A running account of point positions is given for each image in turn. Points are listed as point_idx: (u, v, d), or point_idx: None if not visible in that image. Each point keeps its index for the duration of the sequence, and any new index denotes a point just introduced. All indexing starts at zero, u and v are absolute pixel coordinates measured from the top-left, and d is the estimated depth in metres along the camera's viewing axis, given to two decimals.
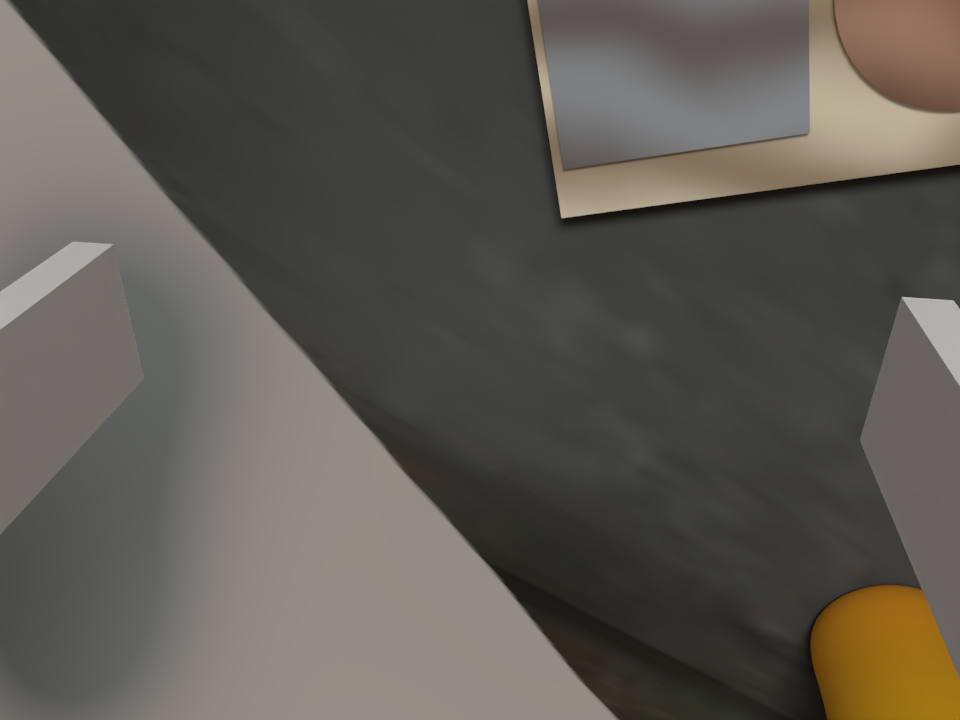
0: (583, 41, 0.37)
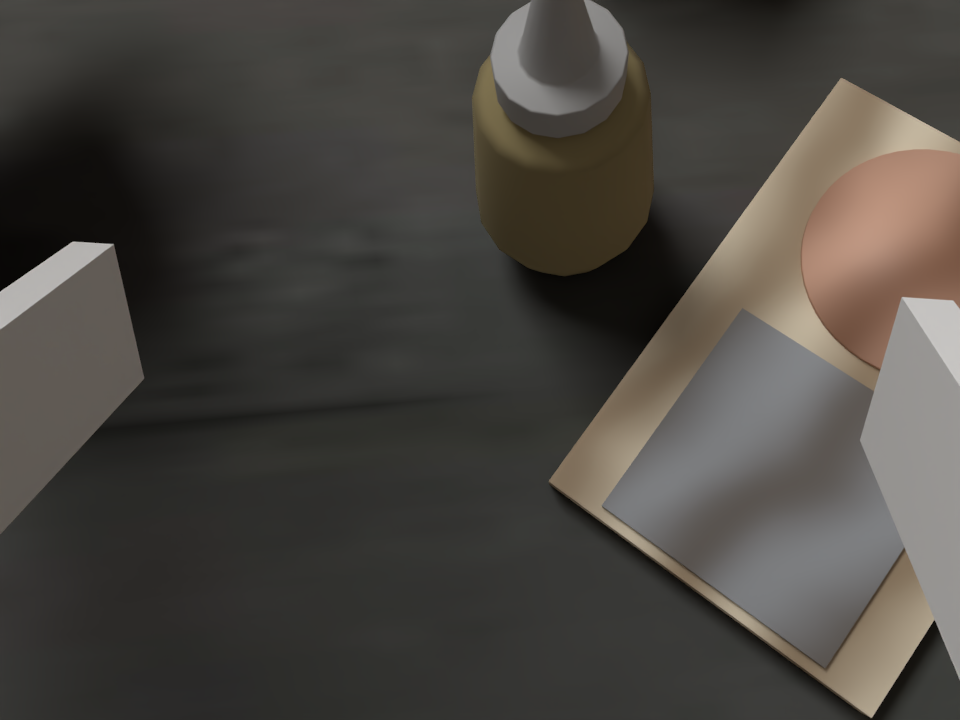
0: (731, 551, 0.36)
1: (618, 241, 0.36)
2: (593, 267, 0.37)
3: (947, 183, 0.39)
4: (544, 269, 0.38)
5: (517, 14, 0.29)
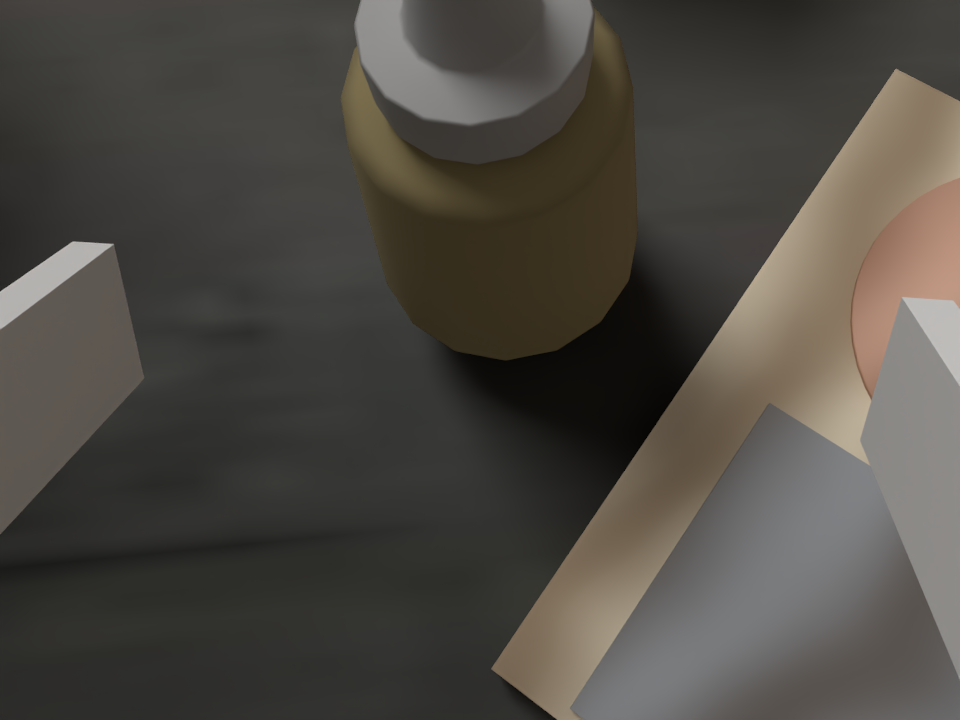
0: None
1: (587, 313, 0.24)
2: (551, 350, 0.25)
3: None
4: (479, 353, 0.25)
5: None
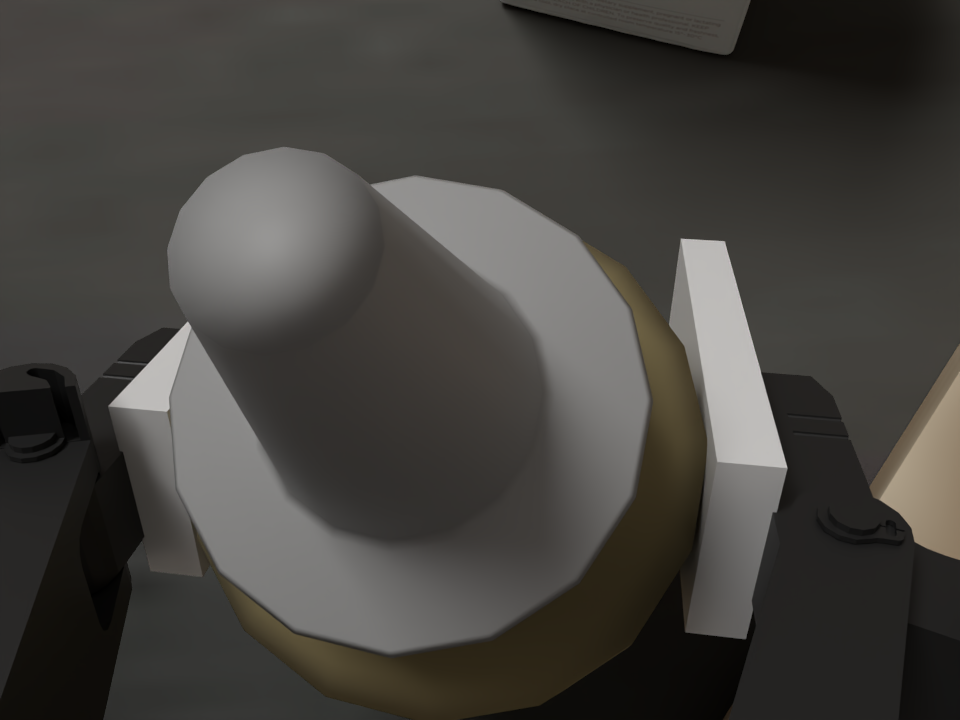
0: None
1: None
2: None
3: None
4: None
5: None
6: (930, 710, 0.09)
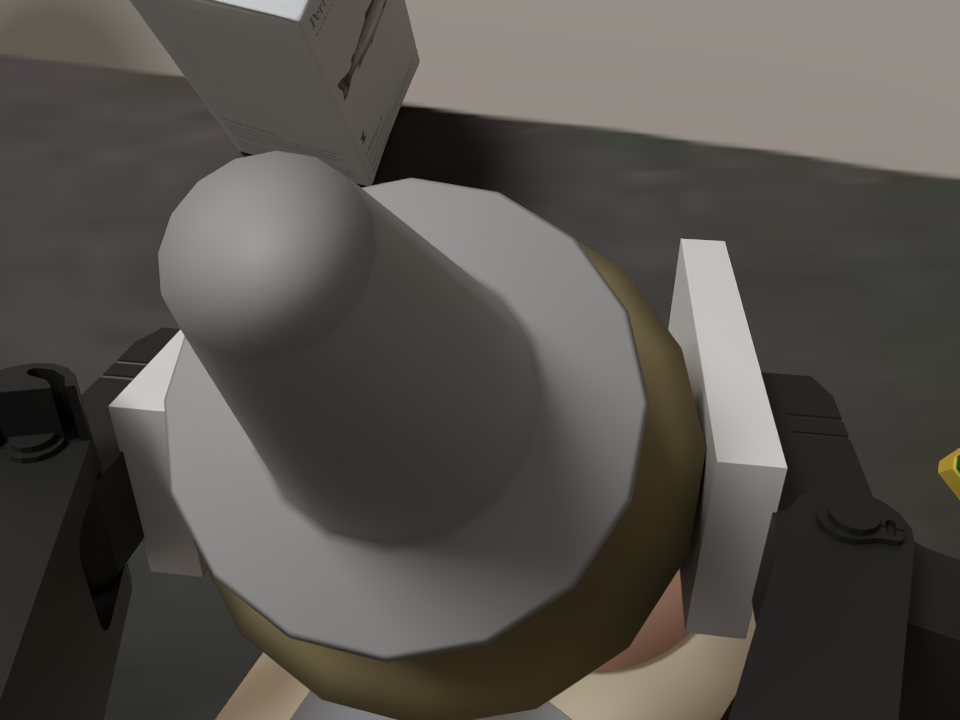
0: None
1: None
2: None
3: None
4: None
5: None
6: (930, 709, 0.09)
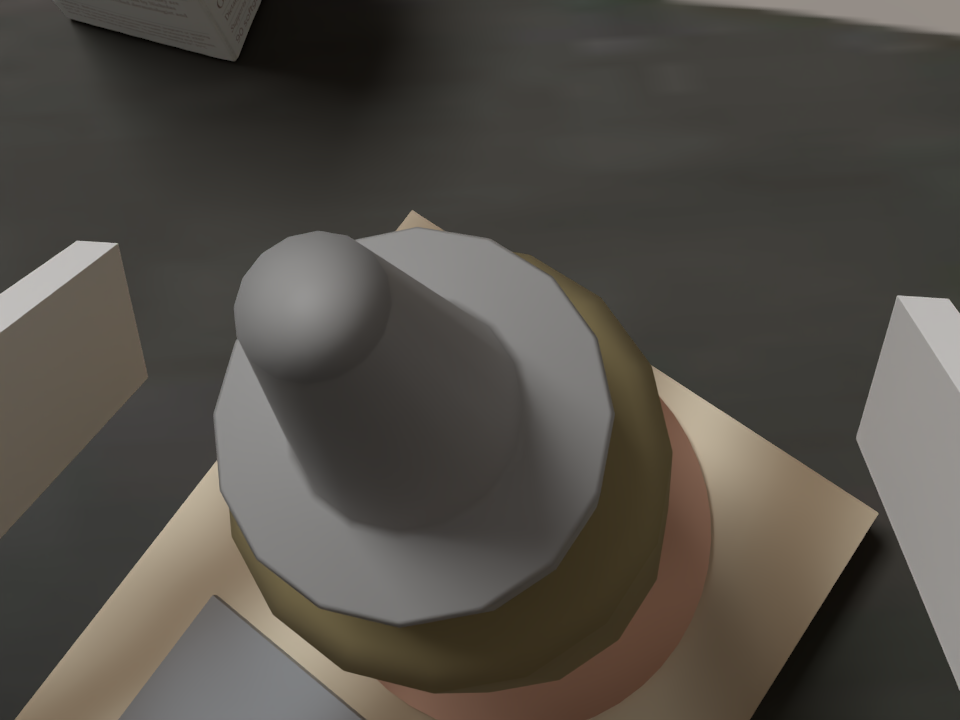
0: None
1: (600, 649, 0.17)
2: None
3: None
4: None
5: None
6: None
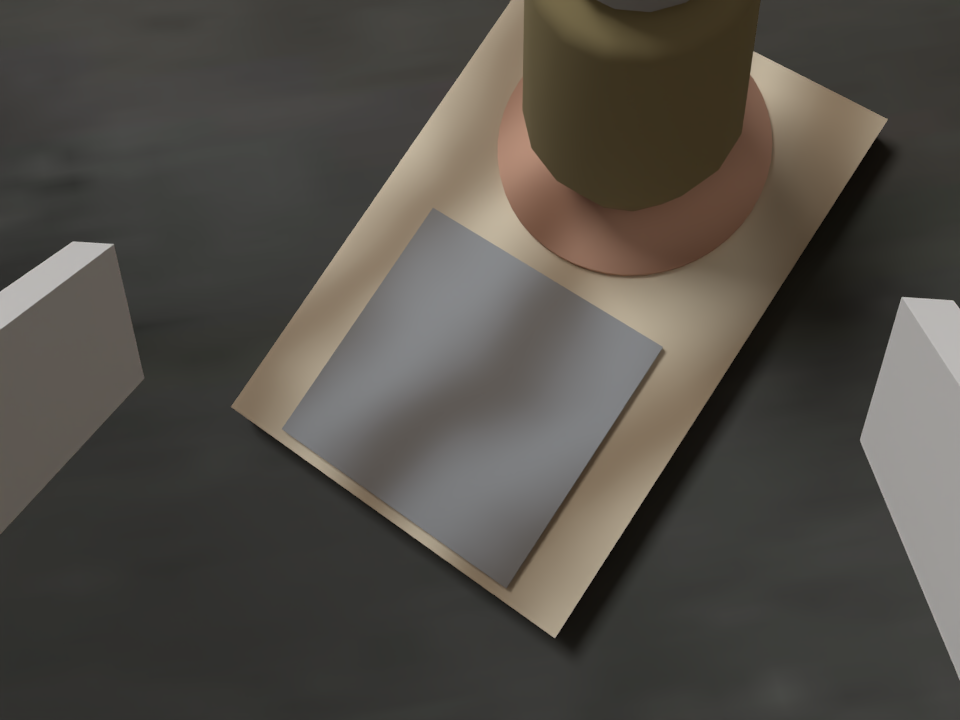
0: (413, 469, 0.33)
1: (710, 159, 0.29)
2: (677, 195, 0.30)
3: None
4: (615, 201, 0.30)
5: None
6: None
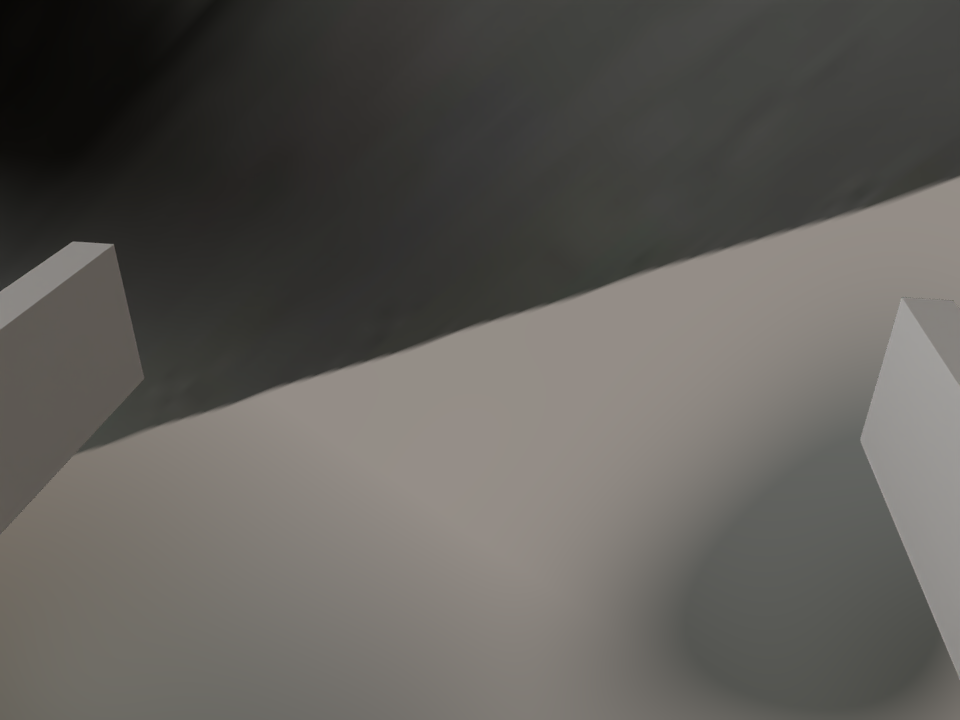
0: None
1: None
2: None
3: None
4: None
5: None
6: None
